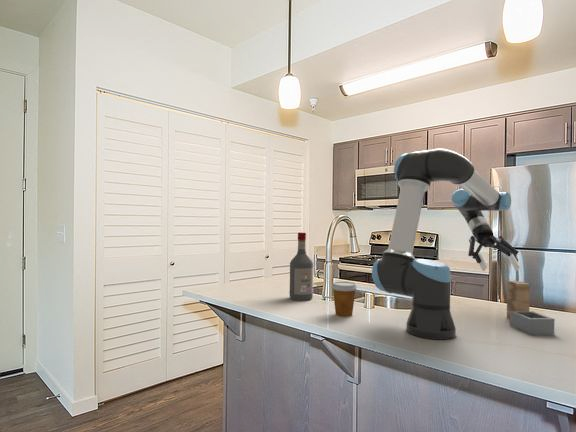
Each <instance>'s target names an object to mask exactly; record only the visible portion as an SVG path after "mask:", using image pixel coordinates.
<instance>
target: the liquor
mask: <svg viewBox="0 0 576 432" xmlns="http://www.w3.org/2000/svg"><path fill="white" fill-rule="evenodd" d="M306 235H307V233H306V232H297V252H296V253H297V254H296V255H295V256H294V257H293V258H292V259H291V261H290V262H289V297H290V299H291V300H293V301H297V302H303V301H311V300H313V297H314V295H313V294H314V290H313V289H314V263H313V261H312V259H311V258H310V257H309V256H308V254H307V251H306V240H307V236H306Z"/></svg>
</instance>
